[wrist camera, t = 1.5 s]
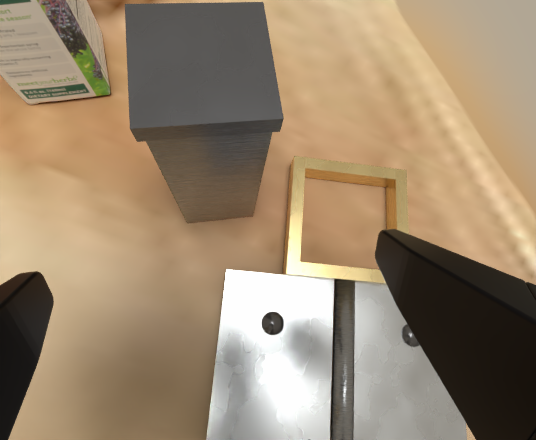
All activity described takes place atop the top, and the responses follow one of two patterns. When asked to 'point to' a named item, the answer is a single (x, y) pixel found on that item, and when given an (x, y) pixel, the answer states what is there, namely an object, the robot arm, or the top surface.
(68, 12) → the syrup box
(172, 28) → the pin
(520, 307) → the robot arm
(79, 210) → the top surface
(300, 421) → the hinge leaves
